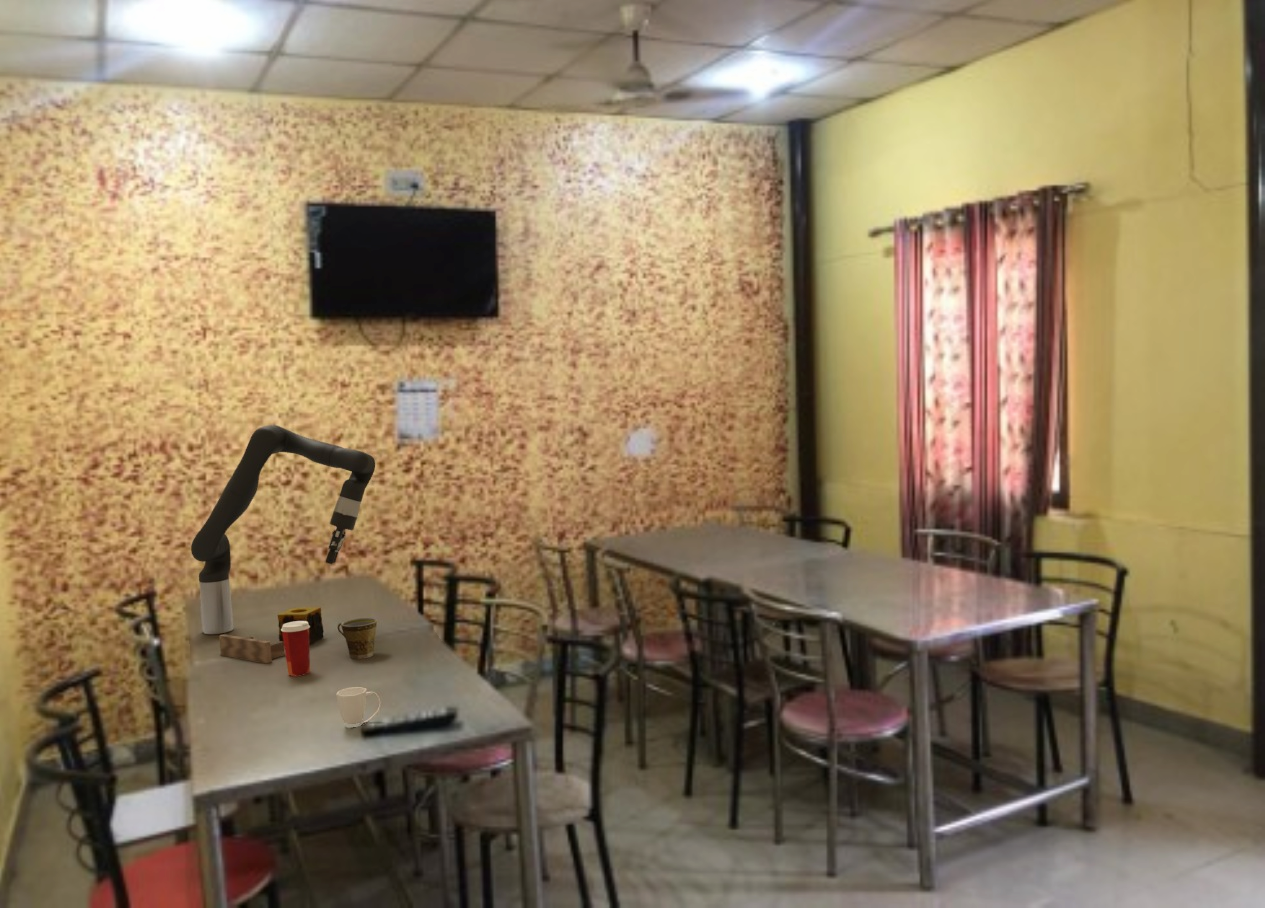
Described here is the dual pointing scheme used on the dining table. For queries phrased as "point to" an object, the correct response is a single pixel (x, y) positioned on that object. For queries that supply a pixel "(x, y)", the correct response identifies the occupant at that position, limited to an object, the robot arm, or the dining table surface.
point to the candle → (304, 614)
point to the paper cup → (297, 647)
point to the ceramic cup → (359, 636)
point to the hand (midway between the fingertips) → (330, 562)
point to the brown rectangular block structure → (250, 648)
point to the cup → (354, 704)
